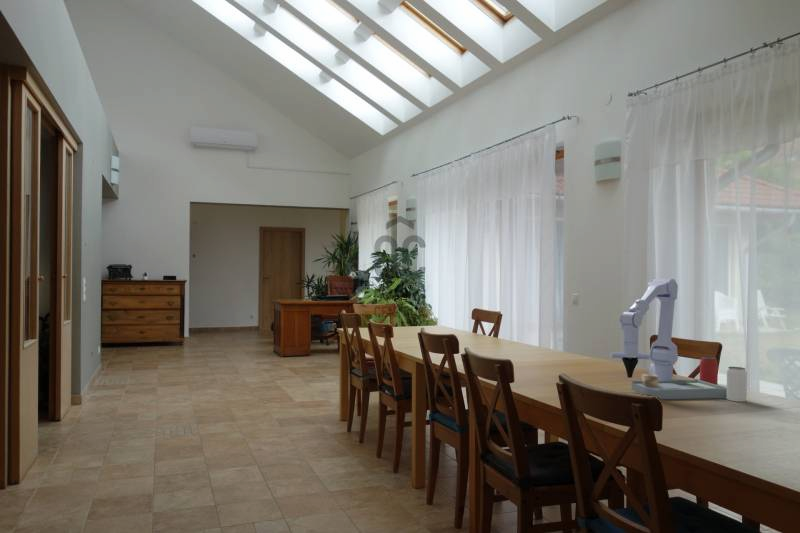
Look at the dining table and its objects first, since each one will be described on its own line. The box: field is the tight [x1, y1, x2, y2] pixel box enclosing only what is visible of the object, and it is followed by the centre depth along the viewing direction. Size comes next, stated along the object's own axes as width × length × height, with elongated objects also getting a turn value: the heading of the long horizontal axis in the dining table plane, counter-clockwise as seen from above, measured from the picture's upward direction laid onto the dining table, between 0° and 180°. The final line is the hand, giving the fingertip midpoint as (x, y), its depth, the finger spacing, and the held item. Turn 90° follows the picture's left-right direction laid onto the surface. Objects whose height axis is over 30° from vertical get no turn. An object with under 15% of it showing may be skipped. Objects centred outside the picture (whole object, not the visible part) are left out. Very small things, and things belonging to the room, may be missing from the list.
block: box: [641, 373, 658, 387], centre depth 241 cm, size 5×5×4 cm
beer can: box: [699, 356, 719, 385], centre depth 255 cm, size 7×7×12 cm
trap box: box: [631, 379, 727, 400], centre depth 240 cm, size 19×29×4 cm, turn 100°
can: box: [725, 366, 748, 403], centre depth 228 cm, size 6×6×12 cm
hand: (629, 377), depth 242 cm, fingers closed
